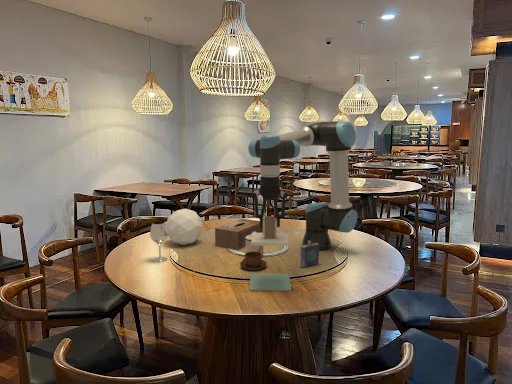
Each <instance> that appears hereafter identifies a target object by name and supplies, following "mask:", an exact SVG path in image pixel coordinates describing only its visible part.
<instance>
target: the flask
mask: <svg viewBox="0 0 512 384" xmlns="http://www.w3.org/2000/svg"><path fill="white" fill-rule="evenodd" d="M307 242H308V243H307V244H308V245H304V246H302V245H301V246H300V263H299V265H300V268H302V269H305V268H310V267H312V266H313V267H314V266H317V265H319V260H320V259H319V256H320V250H319V244H318V243H311V241H310V240H308V241H307Z"/></svg>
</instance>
